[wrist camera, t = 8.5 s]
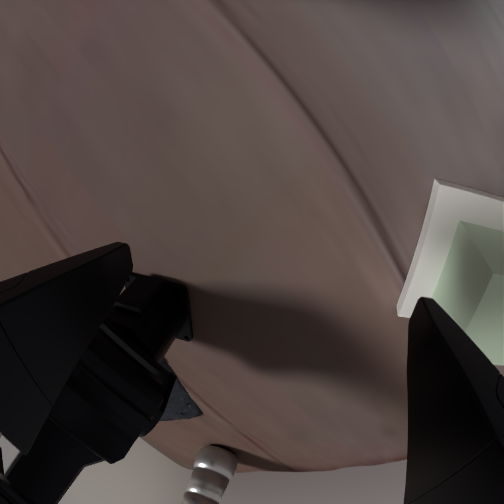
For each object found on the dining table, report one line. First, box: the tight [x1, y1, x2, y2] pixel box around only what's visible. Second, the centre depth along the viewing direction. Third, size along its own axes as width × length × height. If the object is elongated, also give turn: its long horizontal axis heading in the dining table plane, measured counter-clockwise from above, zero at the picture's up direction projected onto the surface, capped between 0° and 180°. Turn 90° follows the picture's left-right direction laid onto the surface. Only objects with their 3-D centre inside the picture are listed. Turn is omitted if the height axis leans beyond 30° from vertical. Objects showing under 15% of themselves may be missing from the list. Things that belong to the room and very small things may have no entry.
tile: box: [397, 179, 504, 318], centre depth 18 cm, size 10×10×1 cm
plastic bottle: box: [179, 445, 238, 504], centre depth 35 cm, size 6×7×20 cm
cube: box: [431, 221, 504, 365], centre depth 15 cm, size 6×6×6 cm
